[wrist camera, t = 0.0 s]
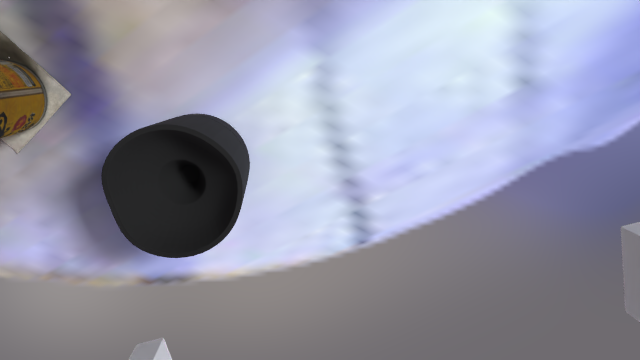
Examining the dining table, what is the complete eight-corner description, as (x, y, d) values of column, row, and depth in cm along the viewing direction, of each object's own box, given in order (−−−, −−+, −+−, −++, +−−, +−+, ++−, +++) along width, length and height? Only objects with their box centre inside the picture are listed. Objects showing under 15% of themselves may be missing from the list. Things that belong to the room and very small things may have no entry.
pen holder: (271, 137, 39) (264, 162, 29) (228, 227, 41) (208, 278, 31) (172, 89, 37) (129, 99, 28) (132, 184, 39) (79, 224, 30)
